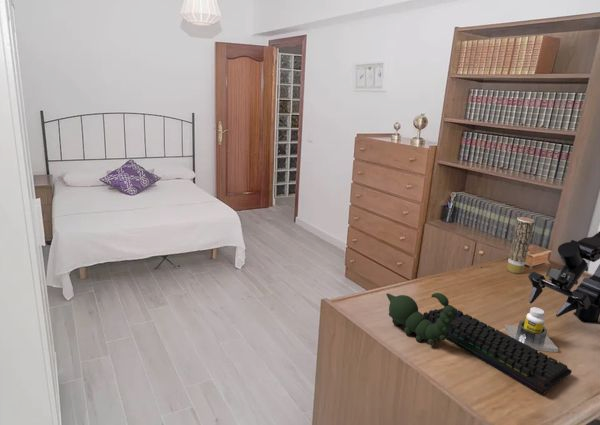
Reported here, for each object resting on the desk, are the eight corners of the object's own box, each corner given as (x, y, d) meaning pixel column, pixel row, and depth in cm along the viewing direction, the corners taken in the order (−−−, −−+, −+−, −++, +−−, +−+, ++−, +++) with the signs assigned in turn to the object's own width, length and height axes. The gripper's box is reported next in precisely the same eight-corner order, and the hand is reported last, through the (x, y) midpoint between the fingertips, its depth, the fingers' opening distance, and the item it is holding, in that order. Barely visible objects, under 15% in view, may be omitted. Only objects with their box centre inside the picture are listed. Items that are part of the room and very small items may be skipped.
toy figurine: (451, 349, 136) (390, 310, 154) (466, 299, 129) (401, 263, 147) (433, 360, 130) (373, 317, 148) (448, 307, 124) (383, 269, 141)
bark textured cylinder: (524, 275, 192) (536, 222, 185) (508, 273, 193) (519, 220, 186) (520, 269, 198) (531, 217, 191) (504, 267, 200) (515, 216, 192)
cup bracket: (540, 331, 147) (543, 319, 145) (557, 352, 135) (561, 339, 134) (504, 328, 147) (507, 316, 146) (518, 348, 136) (521, 335, 135)
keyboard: (569, 378, 124) (574, 363, 122) (542, 399, 115) (546, 384, 113) (446, 312, 156) (449, 300, 155) (417, 325, 147) (419, 312, 146)
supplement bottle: (522, 338, 140) (528, 311, 137) (521, 330, 145) (527, 304, 142) (540, 343, 138) (547, 316, 135) (539, 334, 142) (546, 308, 140)
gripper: (537, 249, 145) (509, 284, 143) (595, 271, 130) (565, 311, 128) (546, 266, 151) (520, 301, 149) (602, 289, 136) (574, 328, 134)
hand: (543, 309), depth 140 cm, fingers open, 9 cm apart
